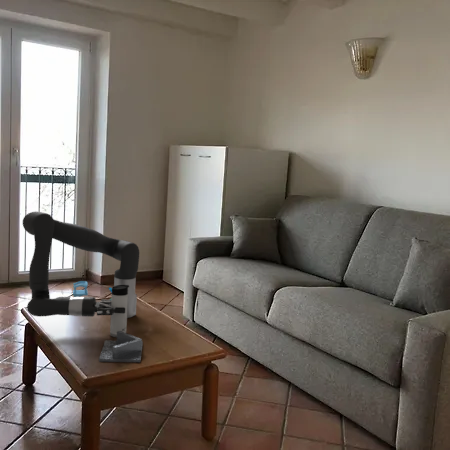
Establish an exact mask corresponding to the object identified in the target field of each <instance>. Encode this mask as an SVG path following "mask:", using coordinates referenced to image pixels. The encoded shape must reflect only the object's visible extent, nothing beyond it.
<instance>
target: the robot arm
mask: <svg viewBox="0 0 450 450" xmlns="http://www.w3.org/2000/svg"><path fill="white" fill-rule="evenodd" d="M22 225H23V226H22V227H23V229H24V230H25V232H27V233H28V234H30V235H31V236H33V238H34V250H33V254H32V255H33V256H32V258H31V261H30V265H29V272H28V277H29V278H28V281H29V282H28V285H29V289H30V290H31V299H30V300H29V301H28V302H27V306H26V310H27V312H28V313H29V315H31V316H33V317H49V316H51V317H52V316H57V315H58V316H72V317H91V318H93V317H95V314H96V316H111V315H113V314H115V313H125V308H124V307H116V308H115V307H111V300H110V299H101V300H100V301H97V299H96V298H95V296H80V297H74V296H59V297H58V296H57V297H55V298H51V297H50V289H49V281H50V280H49V276H50V274H49V273H50V272H49V271H50V268H49V267H50V266H49V265H50V255H51V249H52V242H53V239H54V240H55V241H59V242H60V243H63V244H65V245H67V246H70V247H73V248H76V249H79V250H82V251H84V252H85V251H86V252H91V253H99V254H104V255H106V256H108V257H111V258H113V259H115V260H117V261H119V263H120V265H119V266H120V267H119V269H115V271H114V278H113V279H114V281H113V282H114V283H113V284H114V285H113V287H114V286H117V285H129V288H128V303H127V319H128V318H129V319H130V318H132V317H134V316H137V299H138V298H137V297H138V295H137V293H136V282H137V281H136V280H137V279H136V278H137V273H138V270H139V262H140V249H139V246H138V245H137V243H135V242H131V241H128V240H124V239H116V238H113V237H108V236H106V235H104V234H103V233H101V232H100V231H97V230H95V229H94V228H93V229H92V228H91V227H90V228H89V227H86V226H83V225H78V224H76V223H69V222H65V221H59V220H56V219H54V217H53V216H52V215H50V214H49V213H46V212H43V211H31V212H28V213H27V214H26V215H24V216H23V219H22Z"/></svg>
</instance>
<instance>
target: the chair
mask: <svg viewBox="0 0 450 450" xmlns="http://www.w3.org/2000/svg"><path fill="white" fill-rule="evenodd" d="M72 284H73V290H72V297H85V296H89V292H88V285H89V284H88V281H86V280H79V281H77V282H73V283H72ZM79 287H82V288H83V289H77V288H79Z"/></svg>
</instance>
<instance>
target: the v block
mask: <svg viewBox="0 0 450 450" xmlns="http://www.w3.org/2000/svg"><path fill="white" fill-rule="evenodd" d="M143 341H144V340H143V338H140V337H138V336H134V335H133V334H129V333H127V332H126V333H125V332H122V331H117V337H116V340H104V342H103V346H102V348H101V352H100V355H99V357H98V362H103V363H105V362H107V363H141V361H142V360H141V359H142V352H143V343H144V342H143Z"/></svg>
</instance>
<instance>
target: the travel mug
mask: <svg viewBox="0 0 450 450" xmlns="http://www.w3.org/2000/svg"><path fill="white" fill-rule="evenodd" d="M111 288H112V293H111V298H110V299H111V307H115V308H116V307H124V308H125V313H115V314H113V315H110V325H109V327H110V328H109V335H110V336H111V337H113V338H117V331H122V332H125V333H127V323H128V318H127V303H128V288H129V285H117V286H114V285H113V286H112V287H111Z"/></svg>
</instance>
